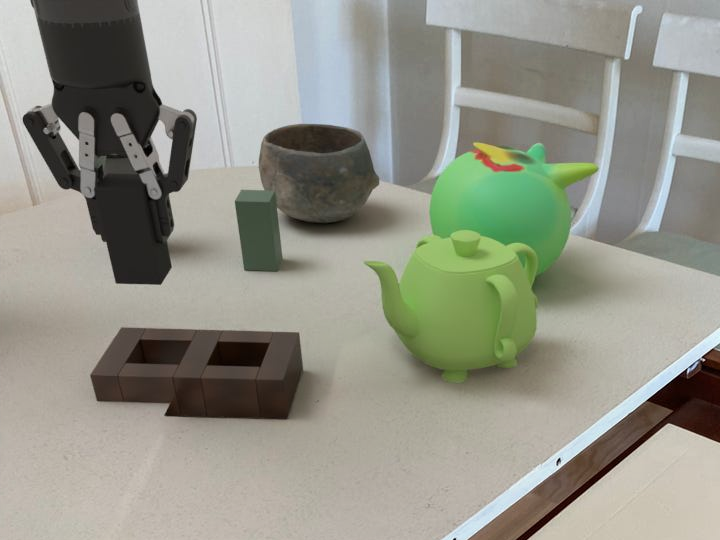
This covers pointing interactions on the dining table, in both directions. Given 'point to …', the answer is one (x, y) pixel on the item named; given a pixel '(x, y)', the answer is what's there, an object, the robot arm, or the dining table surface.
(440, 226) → the toy bird
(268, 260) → the pin
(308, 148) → the bowl
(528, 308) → the teapot
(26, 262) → the dining table surface
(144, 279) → the pin
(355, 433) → the dining table surface
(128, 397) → the wooden socket block
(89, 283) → the dining table surface
